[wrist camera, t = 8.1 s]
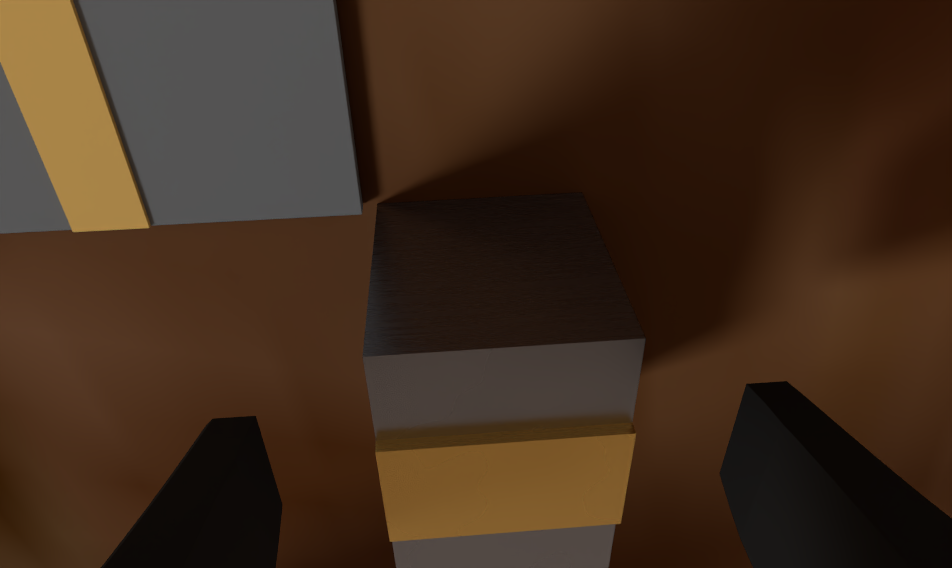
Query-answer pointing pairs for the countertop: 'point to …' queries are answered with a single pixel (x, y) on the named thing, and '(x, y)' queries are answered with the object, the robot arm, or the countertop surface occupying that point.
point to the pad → (172, 113)
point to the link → (500, 382)
